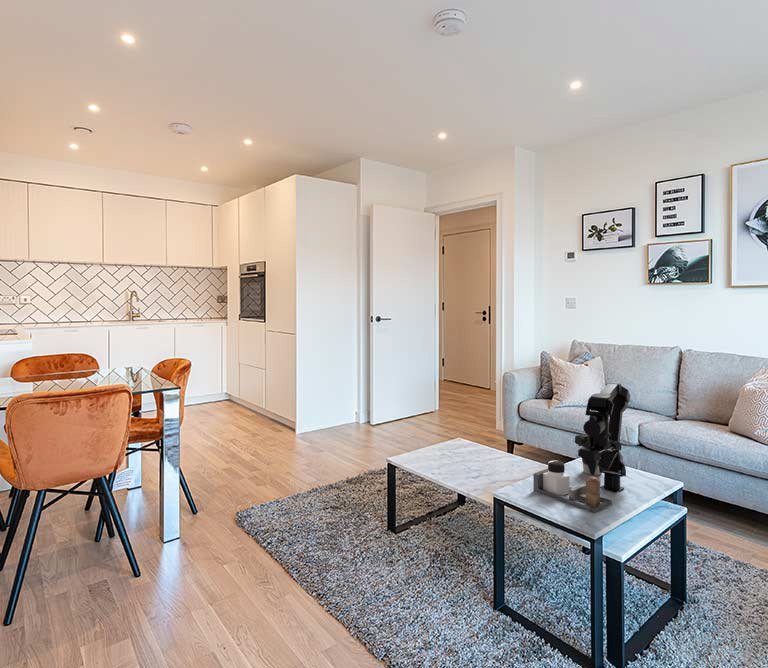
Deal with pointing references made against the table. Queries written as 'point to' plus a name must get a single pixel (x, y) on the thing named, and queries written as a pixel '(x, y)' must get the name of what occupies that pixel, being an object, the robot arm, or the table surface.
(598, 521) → the table surface
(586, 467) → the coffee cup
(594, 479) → the press carriage
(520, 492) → the table surface
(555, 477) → the medicine bottle
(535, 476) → the frame
